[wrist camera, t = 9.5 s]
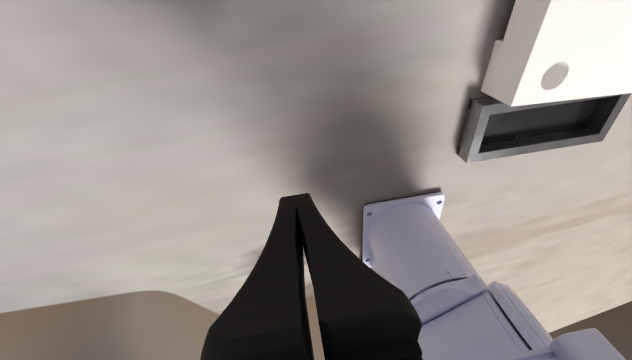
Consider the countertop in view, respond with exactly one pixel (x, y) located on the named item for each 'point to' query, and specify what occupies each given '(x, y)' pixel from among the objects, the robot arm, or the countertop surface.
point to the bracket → (562, 52)
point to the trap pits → (534, 125)
